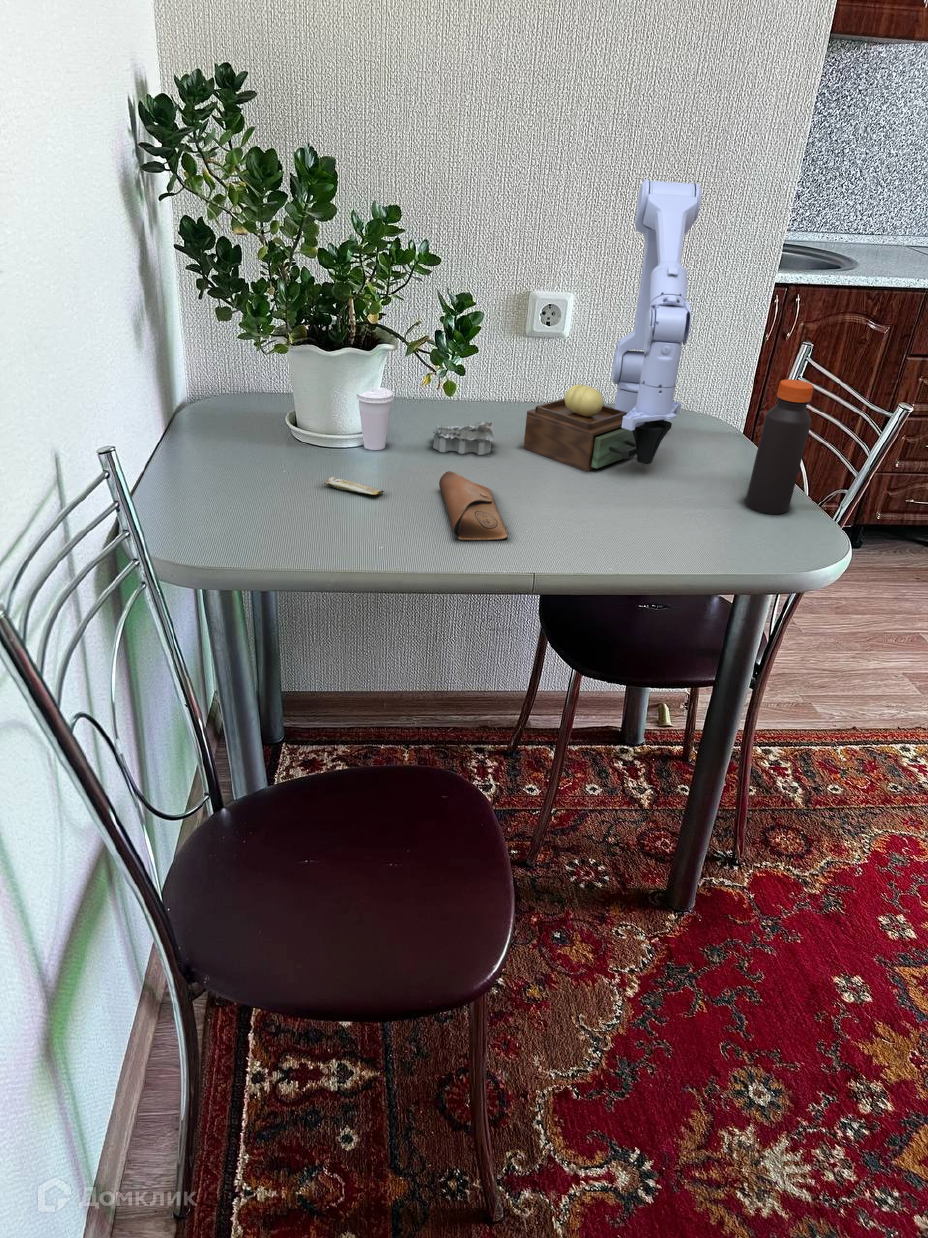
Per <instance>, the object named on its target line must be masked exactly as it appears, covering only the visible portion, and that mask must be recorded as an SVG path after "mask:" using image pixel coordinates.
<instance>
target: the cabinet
mask: <svg viewBox="0 0 928 1238" xmlns="http://www.w3.org/2000/svg"><path fill="white" fill-rule="evenodd" d="M535 409H536V408H533V409H532V408H531V409H529V410H527V411H526V417H525V418H526V419H525V429H524V437H523V438H524V440H523V449H525V450H528V451H530V452H532V453H535V454H538V455H541V456H543V457H547V458H550V459H552V460H553V461H554V460H555V461H557V462H560V463H562V464H566V465H568V466H570V467H573V468H576V469H578V470H582V471H585V472H590V471H592V470H595V469H596V468H594V467H591V465H592V461H591V456H592V448H593V441H594V436H595V435H598V434H601V433H604V432H607V431H610V430H613V429H616V428H619V427H622V421H623V419H621V420H618V421H615V422H612V423H609V424H606V425H603V426H600V427H597V428H594V429H591V430H588V429H586V428H583V427H580V426H577V425H574V424H571V423H568V422H565V421H562V420H559V419H556V418H553V417H550V416H547V415H544V414H541V413H538V412H535ZM549 410H552V411H555V412H558V413H561V414H564V415H567V416H570V417H573V418H576V419H579V420H583V421H586V422H589V423H591V422H594V421H597V420H600V419H603V418H606V417H609V416H612V414H609V413H606V412H603V411H600V412H599V413H598V414H596V415H595V416H591V417H586V416H582V415H579V414H576V413H573V412H571V411H570V410H569V409H568V408H567V407H566V404H565V405H562V406H558V407H555V408H551V409H549Z"/></svg>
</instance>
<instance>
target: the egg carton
mask: <svg viewBox="0 0 928 1238" xmlns="http://www.w3.org/2000/svg"><path fill="white" fill-rule="evenodd" d="M432 433H433V434H434V435H433V447H432V448H433V449H434V450H436V451H438V452H439V453H446V452H450V451H452V452H456V453H458V454H461V455H464V454H467V453H475V454H477V456H484V455H488V454H490V453H492V452H491V451H492V442H493V439H494V433H493V422H492V421H490V422H489V421H480V422H479V421H478V422H475V423H474V425H470V424H466V425H461V426H458V425H449V426H442V425H436V424H435V425H434V429H433V432H432Z"/></svg>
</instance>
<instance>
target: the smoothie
mask: <svg viewBox="0 0 928 1238" xmlns="http://www.w3.org/2000/svg"><path fill="white" fill-rule="evenodd" d="M369 387H370V391H367V392H364V393H363V394H357V393H356V396H357V398H356V400H359V402H358V409H359V418H360V424H361V432H362V441H363V447H364V449H367V450H369V451H381V450H384V449H385V448H386V443H387V436H388V428H389V421H390V414H391V407H392V401H394V391H392V390H391V389H388V388H385V387H379V388H380V389H377V390H376V389H374V390H373V387H374V382H373V383H372V384H371V386H370V385H369Z"/></svg>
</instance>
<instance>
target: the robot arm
mask: <svg viewBox="0 0 928 1238" xmlns="http://www.w3.org/2000/svg"><path fill="white" fill-rule="evenodd" d="M702 191H703V190H702V186H701V185H700V184H699V182H694V183H691V182H690V183H689V182H677V181H676V182H674V181H663V180H662V181H660V180H649V179H647V178H646V179H644V180H643V181H642V182H641V184H640V186H639V189H638V195H637V203H636V210H635V211H636V212H635V219H634V225H635V231H637V232H639V233H640V234H643V238H644V253H643V259H642V267H641V274H640V282H639V287H638V288H639V289H638V296H637V302H636V303H637V304H636V309H635V318H634V325H633V330H632V331H631V332H629V333H628V334H626V335H625V336H622V337H621V338H620V339H619V340H618V341H617V343H616V345H615V350H614V355H613V359H612V366H611V367H612V368H611V381H612V382H613V384H614V385H617V388H616V393H615V401H614V407H613V408H614V409H618V410H621V411H624V412H627V415H625V416H623V421H622V428H624V429H627V430H630V431H632V432H633V435H634V438H635V444H636V453H637V455H636V461H637V462H638V463H640V464H642V465H646V466H647V465H650V464H652V462H653V461H654V458H655V456H656V454H657V451H658V449H659V447H660V445H661V443H662V441H663V439H664V438H665V436H666V435H667V433H668V432H669V431H670V430H671V429H672V425H673V423H672V422H671V421H673V420H676V418H677V416H678V415H680V414H681V409H682V408H681V407H682V402H679V401H676V400H674V396H675V390H676V384H677V380H678V379H677V378H678V374H679V367H680V361H681V357H682V353H683V346H685V345H686V344H687V343H688V339H689V336H690V332H691V326H692V309H691V305H690V301H688V270H687V269H686V267H685V266H684V265H682V264H681V262H682V255H683V254H682V253H683V246H684V237H685V235H687V234H688V233H689V231H690V230H691V229H692V227H693V226H694V224H695V222H696V221H697V220H698V216H699V213H700V209H701V204H702V194H703V193H702Z"/></svg>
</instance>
